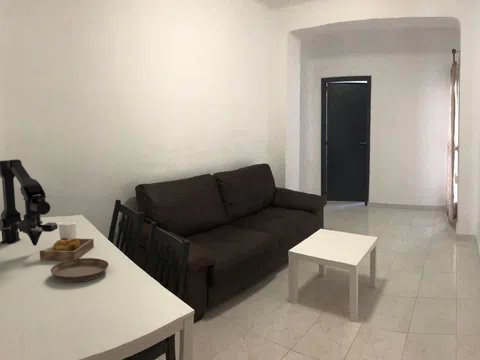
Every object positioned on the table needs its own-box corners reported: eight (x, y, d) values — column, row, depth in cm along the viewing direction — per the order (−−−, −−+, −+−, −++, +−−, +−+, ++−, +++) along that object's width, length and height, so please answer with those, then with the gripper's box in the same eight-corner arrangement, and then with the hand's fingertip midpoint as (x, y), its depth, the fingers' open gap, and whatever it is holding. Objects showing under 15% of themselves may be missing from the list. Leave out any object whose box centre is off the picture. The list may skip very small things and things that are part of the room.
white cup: (72, 245, 184) (71, 225, 183) (56, 245, 184) (55, 224, 183) (80, 240, 192) (79, 220, 190) (64, 240, 192) (63, 220, 191)
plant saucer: (91, 261, 164) (91, 253, 164) (119, 273, 151) (119, 265, 151) (41, 275, 148) (40, 266, 148) (67, 290, 135) (67, 281, 135)
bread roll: (47, 259, 166) (46, 240, 164) (53, 251, 175) (52, 234, 174) (79, 257, 168) (78, 239, 167) (83, 250, 177) (82, 233, 176)
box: (40, 260, 164) (39, 251, 163) (62, 246, 183) (61, 238, 182) (75, 261, 163) (74, 251, 163) (93, 247, 182) (93, 238, 182)
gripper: (0, 214, 163) (3, 250, 166) (43, 216, 163) (45, 251, 165) (16, 209, 174) (18, 242, 177) (57, 210, 174) (59, 243, 176)
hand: (35, 245), depth 173 cm, fingers closed
